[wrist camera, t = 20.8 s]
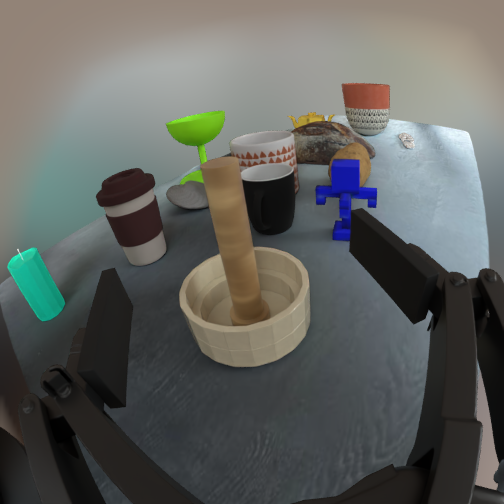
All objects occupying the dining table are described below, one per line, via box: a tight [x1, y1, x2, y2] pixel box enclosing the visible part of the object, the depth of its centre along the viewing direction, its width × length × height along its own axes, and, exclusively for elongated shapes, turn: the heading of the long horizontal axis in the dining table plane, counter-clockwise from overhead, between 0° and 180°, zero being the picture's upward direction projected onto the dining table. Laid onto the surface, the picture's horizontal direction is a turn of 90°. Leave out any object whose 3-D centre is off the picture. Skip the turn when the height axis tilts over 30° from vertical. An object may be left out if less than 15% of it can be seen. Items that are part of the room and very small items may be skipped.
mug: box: [241, 163, 295, 235], centre depth 48 cm, size 12×9×10 cm
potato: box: [328, 142, 371, 187], centre depth 60 cm, size 9×16×9 cm, turn 145°
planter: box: [342, 83, 390, 135], centre depth 102 cm, size 20×20×21 cm
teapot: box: [289, 112, 334, 128], centre depth 111 cm, size 15×14×10 cm
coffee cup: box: [96, 168, 166, 266], centre depth 46 cm, size 10×10×15 cm
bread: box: [291, 121, 376, 165], centre depth 86 cm, size 27×32×10 cm
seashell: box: [166, 180, 209, 209], centre depth 65 cm, size 12×6×10 cm
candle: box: [7, 247, 65, 321], centre depth 37 cm, size 6×6×12 cm
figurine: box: [316, 159, 377, 241], centre depth 43 cm, size 8×8×12 cm
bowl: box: [179, 247, 310, 367], centre depth 32 cm, size 13×13×6 cm
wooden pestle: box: [200, 157, 270, 326], centre depth 28 cm, size 4×4×18 cm
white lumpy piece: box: [399, 133, 415, 149], centre depth 96 cm, size 6×28×1 cm, turn 157°
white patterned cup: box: [229, 131, 299, 194], centre depth 63 cm, size 14×14×13 cm
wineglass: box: [166, 111, 225, 185], centre depth 77 cm, size 16×16×18 cm
